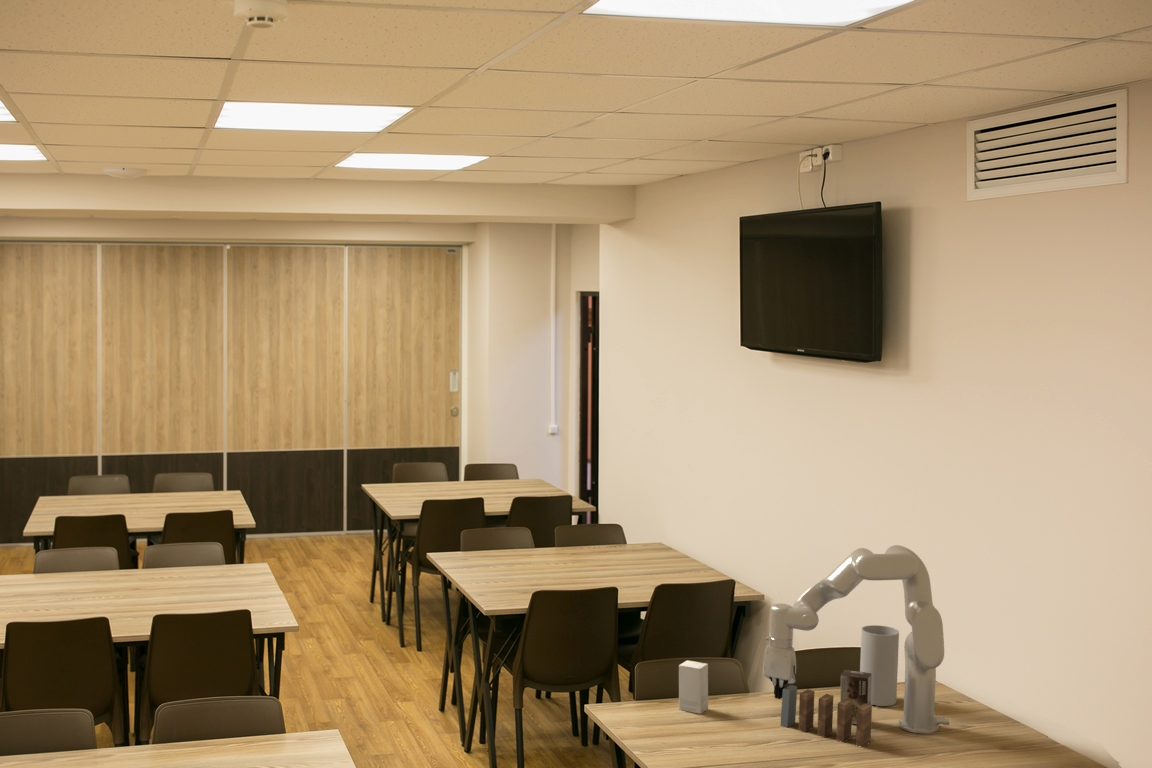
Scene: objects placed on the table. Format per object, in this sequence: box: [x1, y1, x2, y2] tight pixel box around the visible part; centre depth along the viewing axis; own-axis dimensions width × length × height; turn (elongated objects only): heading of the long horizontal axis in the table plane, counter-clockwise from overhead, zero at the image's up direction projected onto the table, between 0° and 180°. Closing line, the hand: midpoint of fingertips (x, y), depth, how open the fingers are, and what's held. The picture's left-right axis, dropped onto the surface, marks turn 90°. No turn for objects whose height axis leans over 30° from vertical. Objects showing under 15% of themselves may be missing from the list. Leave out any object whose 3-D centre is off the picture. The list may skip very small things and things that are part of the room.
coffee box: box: [839, 669, 871, 725], centre depth 365 cm, size 9×6×16 cm
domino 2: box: [816, 693, 834, 738], centre depth 354 cm, size 2×6×12 cm, turn 142°
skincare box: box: [678, 659, 709, 715], centre depth 373 cm, size 8×7×16 cm
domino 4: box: [855, 703, 873, 748], centre depth 346 cm, size 2×6×12 cm, turn 142°
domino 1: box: [798, 689, 815, 733], centre depth 358 cm, size 2×6×12 cm, turn 142°
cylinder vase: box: [859, 624, 900, 707], centre depth 385 cm, size 12×12×25 cm
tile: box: [780, 684, 798, 728], centre depth 361 cm, size 2×6×12 cm, turn 142°
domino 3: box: [835, 699, 853, 743], centre depth 350 cm, size 2×6×12 cm, turn 142°
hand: (779, 697), depth 364 cm, fingers closed
